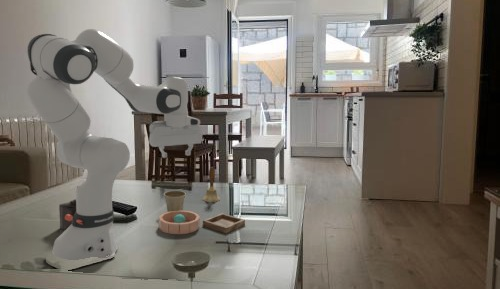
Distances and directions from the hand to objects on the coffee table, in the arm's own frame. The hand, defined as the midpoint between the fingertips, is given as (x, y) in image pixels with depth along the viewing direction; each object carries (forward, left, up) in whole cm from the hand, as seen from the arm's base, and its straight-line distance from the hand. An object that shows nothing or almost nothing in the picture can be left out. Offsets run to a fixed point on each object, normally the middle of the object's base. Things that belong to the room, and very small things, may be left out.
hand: (176, 156), depth 160 cm
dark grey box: (-25, +24, -29) cm, 45 cm away
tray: (+14, -13, -28) cm, 34 cm away
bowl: (+1, -1, -28) cm, 28 cm away
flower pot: (+11, +12, -29) cm, 33 cm away
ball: (+1, -1, -28) cm, 28 cm away
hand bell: (+36, +13, -29) cm, 48 cm away
